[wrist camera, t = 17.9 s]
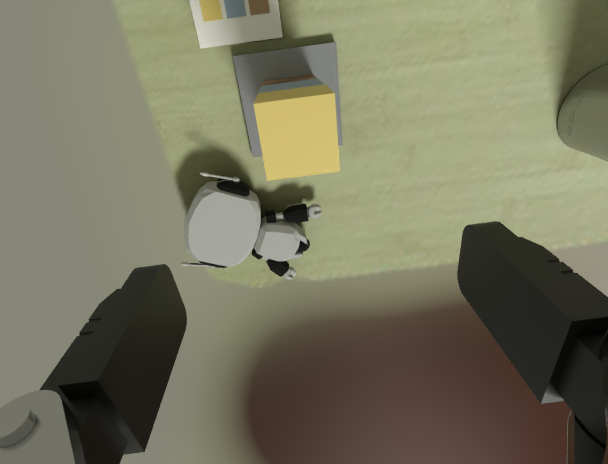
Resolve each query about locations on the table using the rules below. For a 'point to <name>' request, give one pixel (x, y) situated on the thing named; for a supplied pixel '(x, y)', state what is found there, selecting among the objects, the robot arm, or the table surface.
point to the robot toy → (243, 228)
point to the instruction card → (235, 21)
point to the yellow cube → (298, 131)
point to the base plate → (284, 65)
